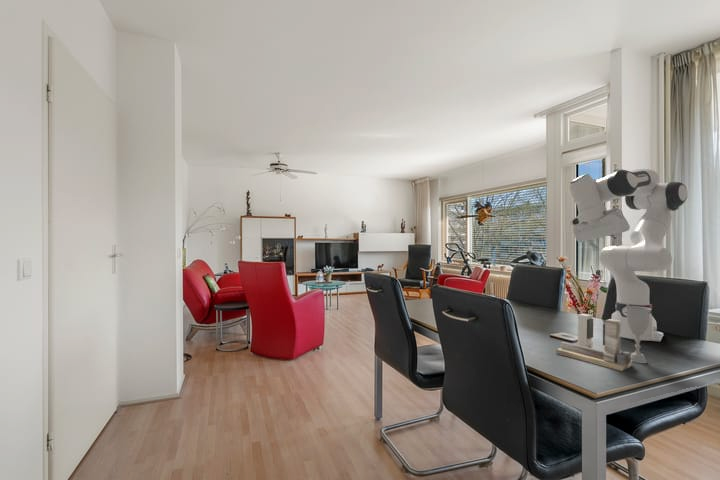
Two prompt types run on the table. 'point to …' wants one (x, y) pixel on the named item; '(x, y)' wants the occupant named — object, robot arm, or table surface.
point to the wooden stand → (604, 358)
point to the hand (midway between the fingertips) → (607, 248)
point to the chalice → (638, 328)
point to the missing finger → (585, 330)
